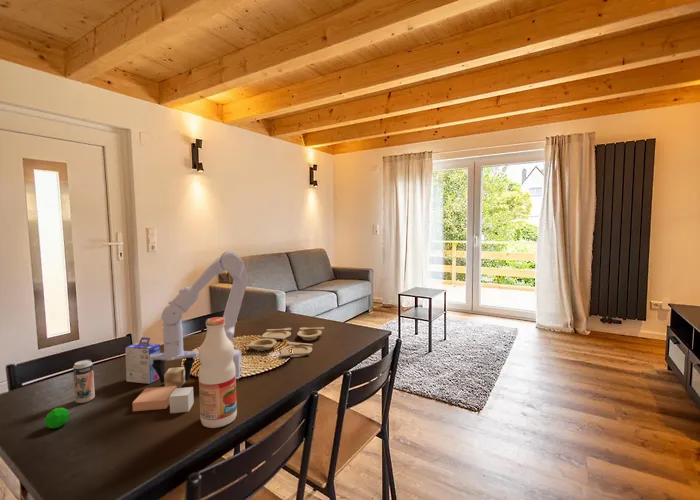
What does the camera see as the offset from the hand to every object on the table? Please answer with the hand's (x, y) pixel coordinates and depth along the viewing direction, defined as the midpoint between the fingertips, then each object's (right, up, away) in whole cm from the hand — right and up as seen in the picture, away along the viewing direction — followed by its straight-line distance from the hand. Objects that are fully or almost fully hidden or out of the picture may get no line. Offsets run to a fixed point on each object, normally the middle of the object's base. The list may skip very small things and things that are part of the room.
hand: (175, 380), depth 114 cm
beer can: (-23, -3, -10) cm, 25 cm away
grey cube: (+9, -3, -15) cm, 18 cm away
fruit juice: (+23, -3, -20) cm, 31 cm away
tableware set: (+30, +1, +39) cm, 50 cm away
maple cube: (0, -2, 0) cm, 2 cm away
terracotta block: (0, -3, -11) cm, 11 cm away
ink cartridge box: (-13, -2, +4) cm, 14 cm away
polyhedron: (-19, -4, -23) cm, 31 cm away
